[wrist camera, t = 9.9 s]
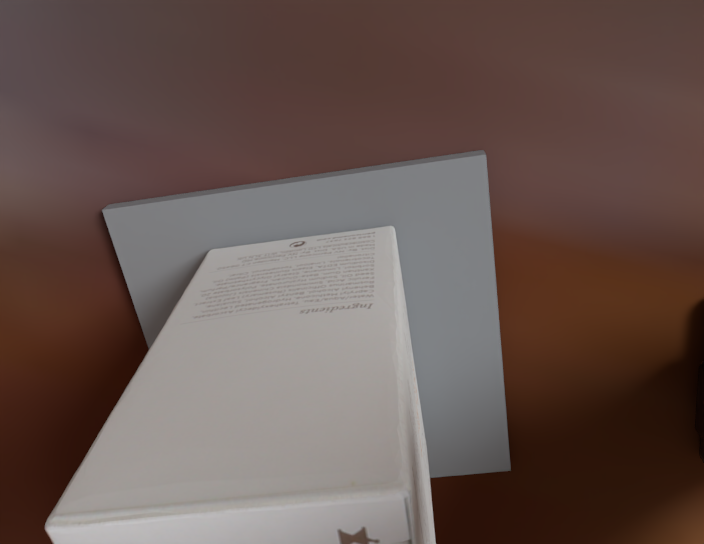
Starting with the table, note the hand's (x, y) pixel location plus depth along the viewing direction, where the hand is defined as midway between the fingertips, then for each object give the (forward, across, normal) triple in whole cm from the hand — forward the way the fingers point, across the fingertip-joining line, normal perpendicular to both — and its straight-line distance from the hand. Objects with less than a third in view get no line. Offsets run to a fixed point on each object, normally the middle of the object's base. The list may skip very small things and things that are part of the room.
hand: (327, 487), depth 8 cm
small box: (+12, +2, +5) cm, 13 cm away
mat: (+12, +2, +5) cm, 13 cm away
